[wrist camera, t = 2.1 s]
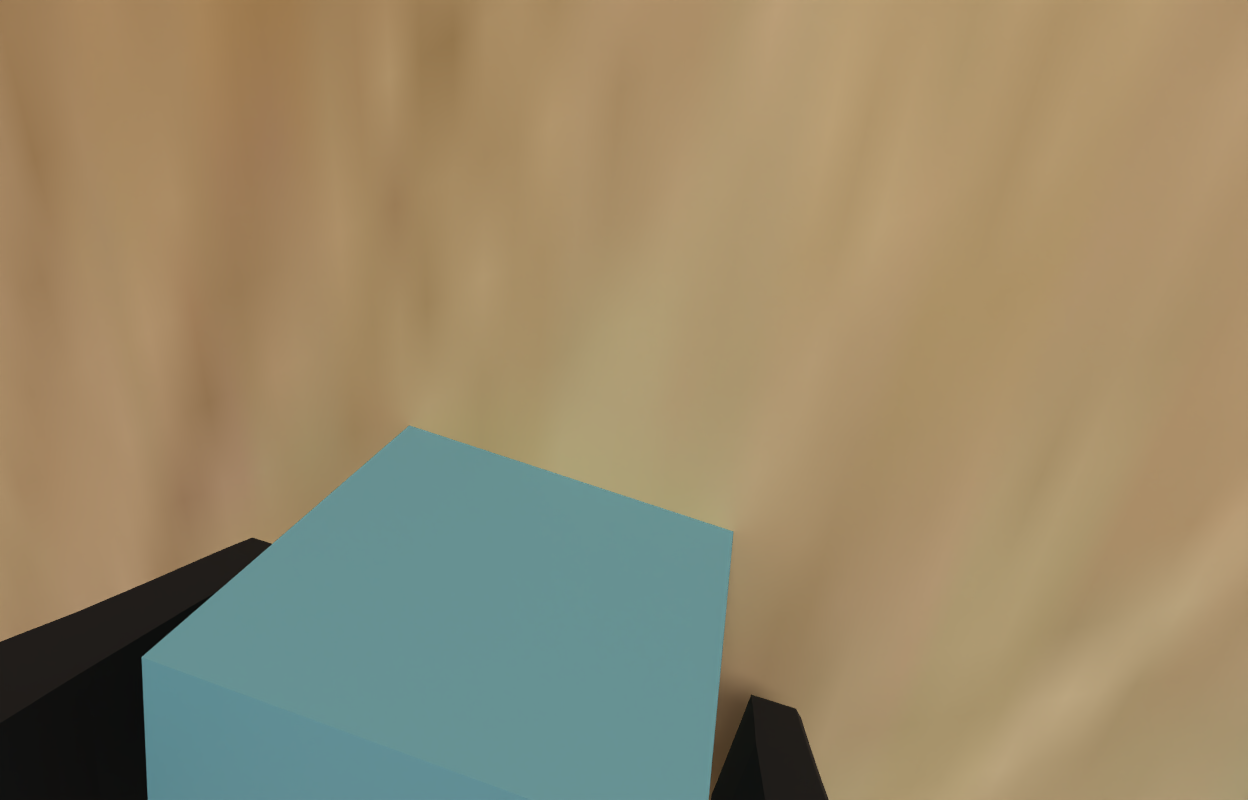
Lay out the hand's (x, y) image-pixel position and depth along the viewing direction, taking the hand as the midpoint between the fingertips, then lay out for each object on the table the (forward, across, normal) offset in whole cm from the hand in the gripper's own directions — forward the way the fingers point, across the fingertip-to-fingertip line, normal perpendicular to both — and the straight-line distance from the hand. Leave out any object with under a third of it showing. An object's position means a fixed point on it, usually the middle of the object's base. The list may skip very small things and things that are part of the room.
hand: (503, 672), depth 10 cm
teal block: (+2, 0, 0) cm, 2 cm away
